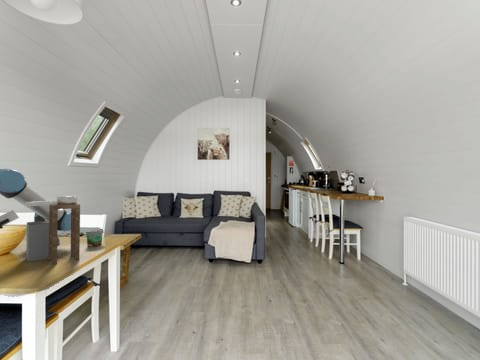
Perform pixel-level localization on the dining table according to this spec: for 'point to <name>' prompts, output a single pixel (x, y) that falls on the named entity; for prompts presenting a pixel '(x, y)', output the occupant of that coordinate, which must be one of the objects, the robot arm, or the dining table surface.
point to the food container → (94, 238)
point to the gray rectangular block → (37, 240)
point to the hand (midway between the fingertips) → (16, 213)
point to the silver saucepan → (60, 201)
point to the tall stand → (54, 228)
